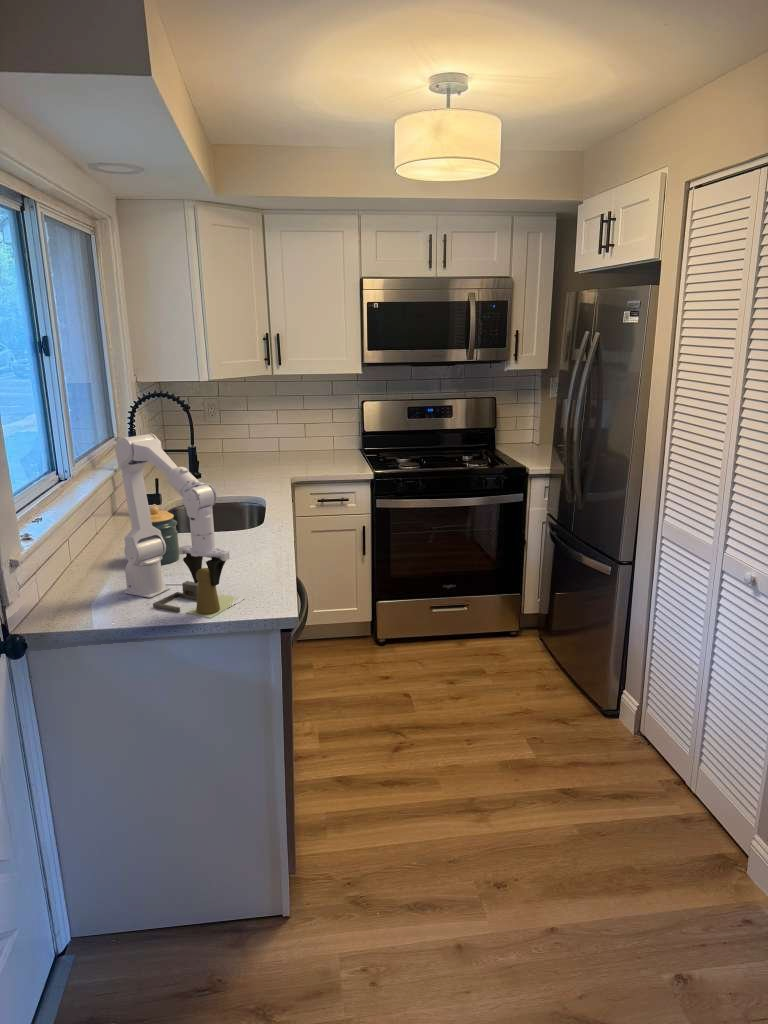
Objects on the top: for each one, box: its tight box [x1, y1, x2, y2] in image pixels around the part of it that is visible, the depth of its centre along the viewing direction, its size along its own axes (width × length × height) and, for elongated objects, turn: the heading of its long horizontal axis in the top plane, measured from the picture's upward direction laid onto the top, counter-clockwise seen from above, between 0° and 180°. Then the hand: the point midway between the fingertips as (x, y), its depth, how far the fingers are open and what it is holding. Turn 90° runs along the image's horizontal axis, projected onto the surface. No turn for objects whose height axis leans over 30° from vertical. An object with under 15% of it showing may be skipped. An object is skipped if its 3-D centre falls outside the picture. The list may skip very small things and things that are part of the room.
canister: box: [146, 505, 181, 566], centre depth 215 cm, size 13×13×18 cm
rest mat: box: [186, 594, 239, 619], centre depth 179 cm, size 8×14×1 cm, turn 155°
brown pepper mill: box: [195, 567, 220, 614], centre depth 175 cm, size 6×6×11 cm
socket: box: [152, 580, 198, 614], centre depth 183 cm, size 8×15×4 cm, turn 155°
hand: (206, 583), depth 175 cm, fingers closed on brown pepper mill, 5 cm apart
